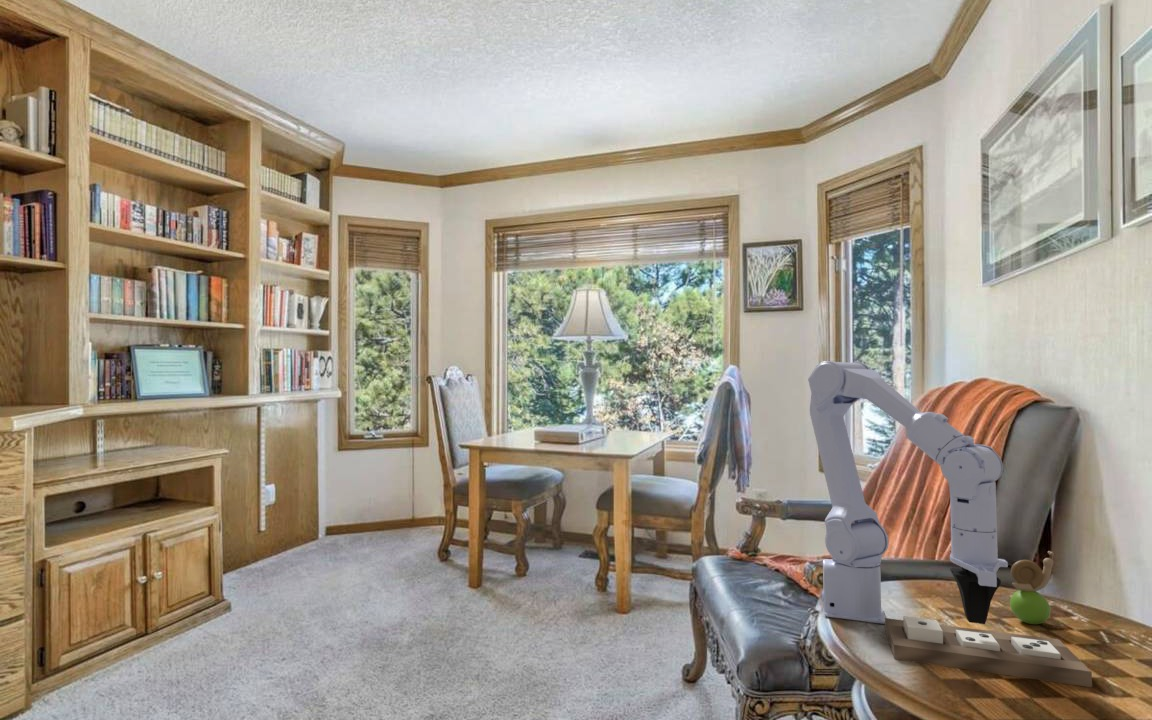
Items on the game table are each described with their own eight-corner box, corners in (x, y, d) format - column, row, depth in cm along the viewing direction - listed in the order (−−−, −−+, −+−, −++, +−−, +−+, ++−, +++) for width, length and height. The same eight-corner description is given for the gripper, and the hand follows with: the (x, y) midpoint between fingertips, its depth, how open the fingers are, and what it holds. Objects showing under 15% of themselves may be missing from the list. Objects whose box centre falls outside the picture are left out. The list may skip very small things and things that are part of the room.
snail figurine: (1065, 631, 97) (1062, 555, 97) (1020, 628, 98) (1017, 553, 99) (1046, 618, 102) (1043, 547, 103) (1004, 616, 103) (1001, 545, 104)
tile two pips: (963, 658, 86) (963, 640, 86) (956, 646, 90) (955, 629, 91) (1000, 664, 85) (1000, 645, 85) (991, 651, 89) (991, 633, 89)
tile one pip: (908, 644, 89) (907, 626, 89) (903, 632, 93) (903, 615, 93) (943, 648, 87) (942, 630, 87) (937, 636, 91) (936, 619, 92)
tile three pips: (1021, 667, 84) (1021, 648, 84) (1011, 653, 88) (1011, 635, 88) (1061, 672, 82) (1060, 653, 82) (1049, 658, 86) (1048, 640, 86)
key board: (894, 658, 87) (894, 644, 87) (885, 630, 97) (885, 618, 97) (1092, 687, 78) (1091, 671, 78) (1059, 653, 88) (1058, 639, 89)
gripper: (1022, 542, 80) (1025, 645, 80) (991, 520, 94) (993, 608, 93) (961, 537, 83) (963, 637, 82) (939, 516, 96) (941, 602, 96)
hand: (975, 621), depth 88 cm, fingers closed
